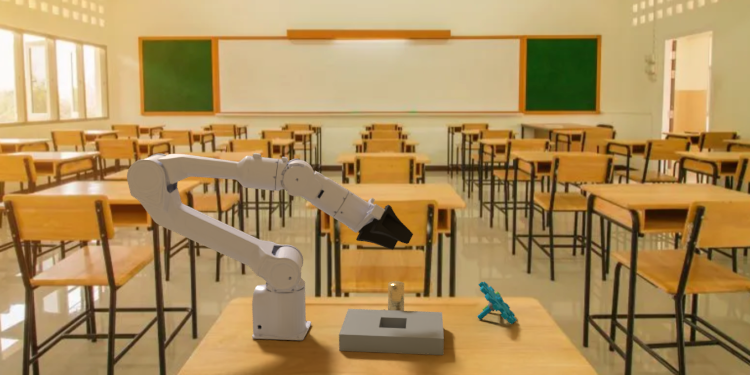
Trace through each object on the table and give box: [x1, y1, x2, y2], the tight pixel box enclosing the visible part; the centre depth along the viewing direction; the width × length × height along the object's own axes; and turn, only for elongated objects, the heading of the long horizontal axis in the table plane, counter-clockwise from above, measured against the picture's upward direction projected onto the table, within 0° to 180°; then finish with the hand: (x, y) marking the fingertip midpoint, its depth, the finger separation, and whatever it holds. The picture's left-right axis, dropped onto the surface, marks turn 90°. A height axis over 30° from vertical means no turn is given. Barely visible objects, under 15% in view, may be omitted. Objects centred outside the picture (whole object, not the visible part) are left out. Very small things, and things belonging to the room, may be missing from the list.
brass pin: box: [387, 280, 405, 311], centre depth 116 cm, size 3×3×7 cm
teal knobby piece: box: [476, 281, 517, 325], centre depth 116 cm, size 11×6×10 cm
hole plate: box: [338, 308, 445, 356], centre depth 107 cm, size 18×12×3 cm, turn 85°
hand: (402, 242), depth 109 cm, fingers open, 7 cm apart
